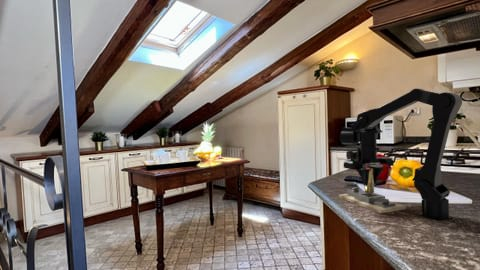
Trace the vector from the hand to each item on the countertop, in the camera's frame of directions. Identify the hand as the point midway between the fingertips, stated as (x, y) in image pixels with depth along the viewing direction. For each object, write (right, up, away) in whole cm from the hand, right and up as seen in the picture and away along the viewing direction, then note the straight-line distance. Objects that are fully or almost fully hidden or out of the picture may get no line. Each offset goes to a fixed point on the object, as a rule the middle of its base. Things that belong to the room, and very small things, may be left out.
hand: (369, 185), depth 103 cm
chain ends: (0, -7, 0) cm, 7 cm away
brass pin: (0, -3, 0) cm, 2 cm away
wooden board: (0, -7, 0) cm, 7 cm away
